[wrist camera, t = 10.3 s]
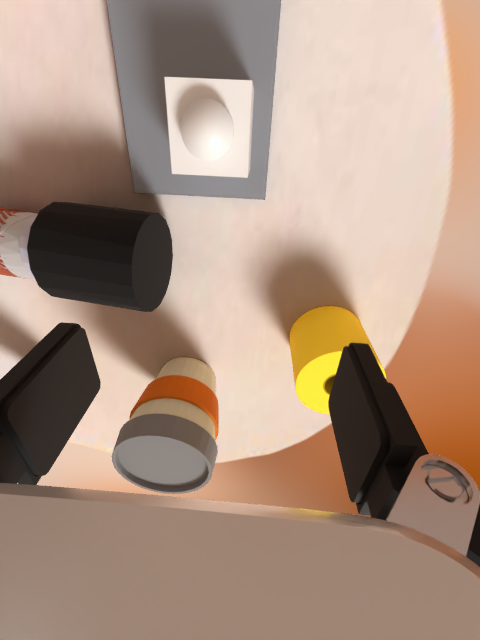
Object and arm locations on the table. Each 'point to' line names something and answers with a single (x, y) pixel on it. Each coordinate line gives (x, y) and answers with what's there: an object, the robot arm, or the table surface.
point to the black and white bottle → (89, 253)
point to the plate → (192, 62)
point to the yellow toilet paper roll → (322, 351)
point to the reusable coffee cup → (172, 430)
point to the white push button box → (210, 126)
